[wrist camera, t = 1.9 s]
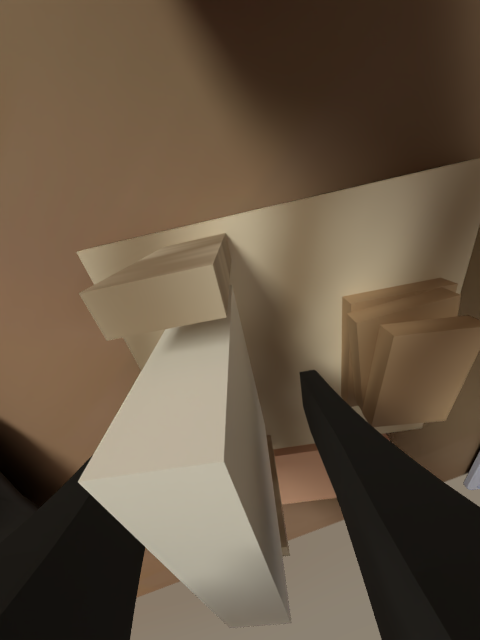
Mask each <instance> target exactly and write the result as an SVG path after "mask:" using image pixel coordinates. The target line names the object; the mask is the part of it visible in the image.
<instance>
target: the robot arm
mask: <svg viewBox="0 0 480 640" xmlns="http://www.w3.org/2000/svg"><path fill="white" fill-rule="evenodd" d="M299 373H300V383H301V393H302V402H303V408H304V412H305V415H306V419H307V422H308V425H309V429H310V432H311V434H312V437H313V439H314V442H315V444H316V447H317V449H318V452H319V454H320V457H321V459H322V462H323V464H324V467H325V469H326V472H327V474H328V476H329V479H330V481H331V484H332V486H333V489H334V491H335V494H336V497H337V499H338V502H339V505H340V507H341V511H342V514H343V517H344V520H345V523H346V526H347V529H348V532H349V535H350V538H351V542H352V545H353V548H354V551H355V554H356V557H357V561H358V564H359V566H360V570H361V573H362V576H363V579H364V583H365V586H366V589H367V592H368V596H369V599H370V602H371V606H372V609H373V612H374V616H375V619H376V622H377V625H378V628H379V632H380V635H381V638H382V640H480V507H479V506H477V505H476V504H474V503H473V502H471V501H470V500H468V499H467V498H466V497H464V496H463V495H461V494H460V493H458V492H457V491H455V490H454V489H453V488H451V487H450V486H448V485H447V484H445V483H444V482H443V481H441V480H440V479H438V478H437V477H436V476H434V475H433V474H432V473H430V472H429V471H428V470H426V469H425V468H424V467H422V466H421V465H420V464H418V463H417V462H416V461H414V460H413V459H412V458H410V457H409V456H408V455H407V454H405V453H404V452H403V451H401V450H400V449H399V448H398V447H396V446H395V445H394V444H393V443H391V442H390V441H389V440H388V439H387V438H385V437H384V436H383V435H382V434H381V433H379V432H378V431H377V430H376V429H375V428H374V427H373V426H371V425H370V424H369V423H368V422H367V421H366V420H365V419H364V418H362V417H361V416H360V415H359V414H358V413H357V412H356V411H355V410H354V409H353V408H352V407H351V406H350V405H349V404H347V403H346V402H345V401H344V400H343V399H342V398H341V397H340V396H339V395H338V394H337V393H336V392H335V391H334V390H333V388H332V387H331V386H330V385H329V384H328V383H327V382H326V381H325V380H324V379H323V378H322V377H321V375H320V374H319V373H318V372H317V371H316V370H309V371H303V372H299ZM92 456H93V455H92ZM92 456H91V457H90V458H89V459H88V460H87V462H86V463H85V464H84V465H83V466H82V467H81V468H80V469H79V470H78V471H77V472H76V473H75V474H74V475H73V476H72V477H71V478H70V479H69V480H68V481H67V482H66V483H65V484H64V485H63V486H62V487H61V488H60V489H59V490H58V491H57V492H56V493H55V494H54V495H53V496H52V497H51V498H50V499H49V500H48V501H47V502H45V503H44V504H43V505H42V506H41V507H40V508H39V509H38V510H37V511H36V512H35V513H34V514H33V515H32V516H30V517H29V518H28V519H27V520H26V521H25V522H24V523H22V524H21V525H20V526H19V527H18V528H17V529H16V530H14V531H13V532H12V533H11V534H10V535H9V536H8V537H7V538H5V539H4V540H3V541H2V542H1V543H0V640H130V635H131V628H132V621H133V614H134V608H135V602H136V596H137V590H138V584H139V578H140V573H141V567H142V562H143V556H144V551H145V546H144V545H143V544H142V543H141V542H140V541H139V540H138V539H136V538H135V537H134V536H133V535H132V534H131V533H130V532H129V531H128V530H127V529H126V528H125V527H124V526H123V525H122V524H121V523H120V522H119V521H118V520H117V519H116V518H115V517H114V516H113V515H112V514H110V513H109V512H108V511H107V510H106V509H105V508H104V507H103V506H102V505H101V504H100V503H99V502H98V501H97V500H96V499H95V498H94V497H93V496H92V495H91V494H90V493H89V492H88V491H87V490H85V489H84V488H83V487H82V486H81V485H80V484H79V483H78V480H79V479H80V477H81V475H82V473H83V472H84V470H85V468H86V466H87V465H88V463H89V461H90V460H91V458H92ZM464 485H465V487H466V488H467V489H469V490H475V489H480V451H479V453H478V455H477V457H476V459H475V461H474V463H473V465H472V467H471V469H470V471H469V473H468V475H467V477H466V479H465V481H464Z"/></svg>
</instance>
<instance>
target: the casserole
mask: <svg viewBox="0 0 480 640" xmlns="http://www.w3.org/2000/svg"><path fill="white" fill-rule="evenodd" d="M39 508H40V506H38V505H37V504H35V503H34V502H32V501H31V500H29V499H28V498H26V497H25V496H23V495H22V494H21V493H20V492H19V491H18V490H17V489H16V488H15V487H14V486H13V485H12V484H11V483H10V481H9V480H8V479H7V478H6V477H5V476H4V475H3V474H2V473H1V472H0V543H1V542H2V541H3V540H4V539H5V538H7V537H8V536H9V535H10V534H11V533H12V532H13V531H14V530H16V529H17V528H18V527H19V526H20V525H21V524H22V523H24V522H25V521H26V520H27V519H28V518H29V517H30V516H32V515H33V514H34V513H35V512H36V511H37V510H38V509H39Z"/></svg>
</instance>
